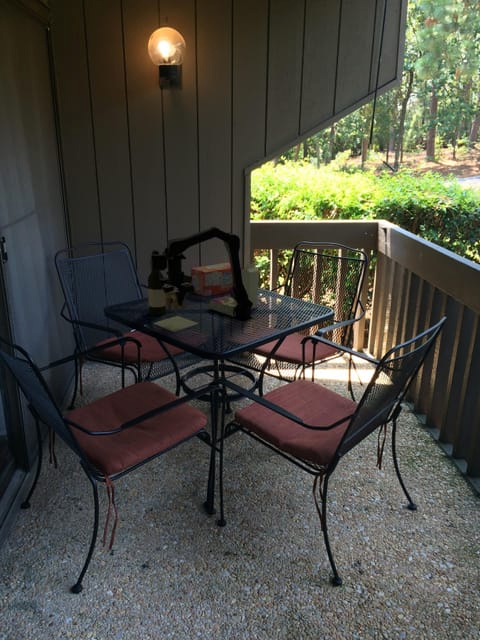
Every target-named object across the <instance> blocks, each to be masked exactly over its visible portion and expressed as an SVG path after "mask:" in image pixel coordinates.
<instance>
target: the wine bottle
mask: <svg viewBox="0 0 480 640" xmlns="http://www.w3.org/2000/svg"><path fill="white" fill-rule="evenodd" d="M153 254H154V255H160V251H159V249H152V251H151V255H153ZM150 271H151V270H150ZM161 271H162V270H161ZM161 271H151V272H150V273H149V275H148V277H147V289H148V290H147V291H148V292H147V293H148V294H147V295H148V296H147V297H148V314H150V316H153V317H155V316H159V317H160V316H163V315H166V314H167V310H166V294H165V293H164V291H163V289H161V287H160V286H157V281H158V279H162V278H165V276H164V274H163V273H162V272H161Z"/></svg>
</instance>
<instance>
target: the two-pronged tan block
mask: <svg viewBox="0 0 480 640" xmlns="http://www.w3.org/2000/svg"><path fill="white" fill-rule="evenodd" d="M176 292H178V289H175V290H173V291H172V292H168V293H166V294H165V301H166V309H167V310H170V309H171V310H172V311H173V312H178V311H179V309H181V310H185V309H186V296H185V297H184V300H183V303H182V306H179V304H178V300H177V296H176ZM171 299H172V303H171Z"/></svg>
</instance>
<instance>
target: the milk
mask: <svg viewBox="0 0 480 640" xmlns="http://www.w3.org/2000/svg"><path fill="white" fill-rule="evenodd" d="M255 265H256V264H255V263H254V262H253V263H248V264H245V268H243V269H242V270H241V274H242V281H243V285H244V287H245V289H246V292H247V295H248V299H249V300H250V301H251V302H252V303H253V305H252V308H255V309H257V308H258V302H259V300H258V299H259V297H258V296H259V295H258V294H259V273H260V272H259V269H258V268H257V267H256V266H255ZM256 307H257V308H256ZM252 308H251V310H253V309H252Z"/></svg>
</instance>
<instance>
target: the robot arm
mask: <svg viewBox="0 0 480 640" xmlns="http://www.w3.org/2000/svg"><path fill="white" fill-rule="evenodd" d="M214 238H216V239H219V240H221V241H222V242H223V245H224V247H225V249H226V252H227V254H228V259H229V263H230V267H231V273H232V279H233V287H232V288H230V296H229V297H231V298H233V299H234V300H235V301H236V303H237V307H236V316H234V317H233V319H236V320H239V321H242V322H246V321H248V320H251V318H252V319H253V318H254V317H253V316H252V309H251V308H252V305H253V303H252V302H251V301H250V300H249V299H248V295H247V292H246V289H245V287H244V285H243V281H242V274H241V267H240V266H241V262H240V255H239V254H240V249H241V238H240V237H239V236H238V235H237V234H236V233H233V232H225V231H223V230H222V229H220V228H218V226H211V227H209V228H207V229H203V230H201V231H199V232H196V233H194V234H191V235H189V236H184V237H176V238H171V239H169V240H168V241H167V243H166V247H165V249H164V250H163V252H162V253H161V254H159V255H154V254H153V255H152V254H150V258H149V259H150V260H149V267H150V271H166V270H167V271H166V272H165V274H166V276H167V275H168V277H164V278H162V279H158V281H157V286H160V287H161V289H163V291H164V293H165V295H166V293H168V292H172V291H175V289H177V291H178V292H176V296H177V300H178V304H179V306H178V307H180V306H182V303H183V300H184V297H185V298H186V295H187V294H192V293H193V292H195V287H194V286H193V285H191V282H192V278H193V277H191V275H187V274H185V271H183V270H182V269H183V267H182V265H183V263H182V261H183V260H187V257H186V256H185V255H184V254H183V253H184V252H185V251H187V250H188V249H189V248H191V247H193V246H195V245H198V244H201V243H204V242H207V241H208V240H212V239H214ZM171 304H173V302H172V299H171Z"/></svg>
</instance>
